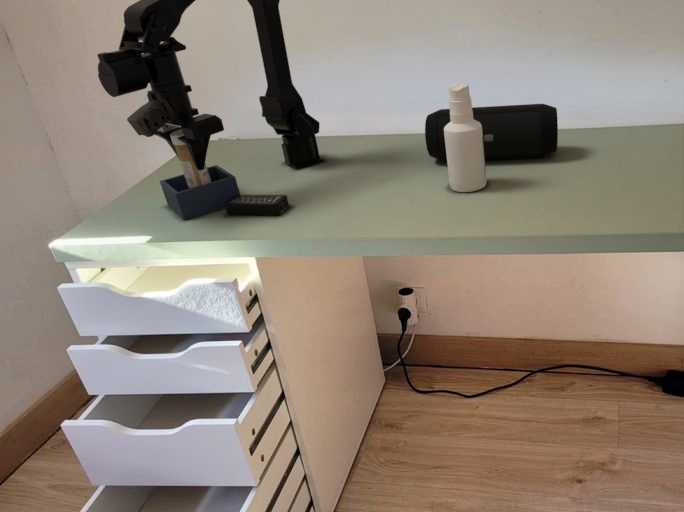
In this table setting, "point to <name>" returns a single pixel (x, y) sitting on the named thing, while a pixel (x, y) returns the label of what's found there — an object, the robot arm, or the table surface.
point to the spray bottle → (464, 143)
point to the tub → (200, 193)
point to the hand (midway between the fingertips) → (194, 168)
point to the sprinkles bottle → (189, 163)
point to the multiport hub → (257, 205)
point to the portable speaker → (502, 131)
